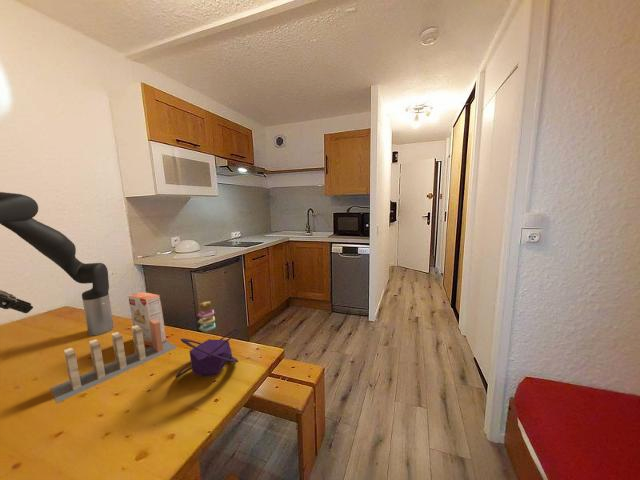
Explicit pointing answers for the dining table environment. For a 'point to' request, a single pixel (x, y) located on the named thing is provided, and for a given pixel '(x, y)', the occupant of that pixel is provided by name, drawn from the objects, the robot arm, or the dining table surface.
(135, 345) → the tall wooden block
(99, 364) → the tile
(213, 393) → the dining table surface
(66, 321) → the dining table surface
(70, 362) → the tile
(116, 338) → the tile
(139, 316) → the cracker box
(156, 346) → the end tile
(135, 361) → the slate mat
